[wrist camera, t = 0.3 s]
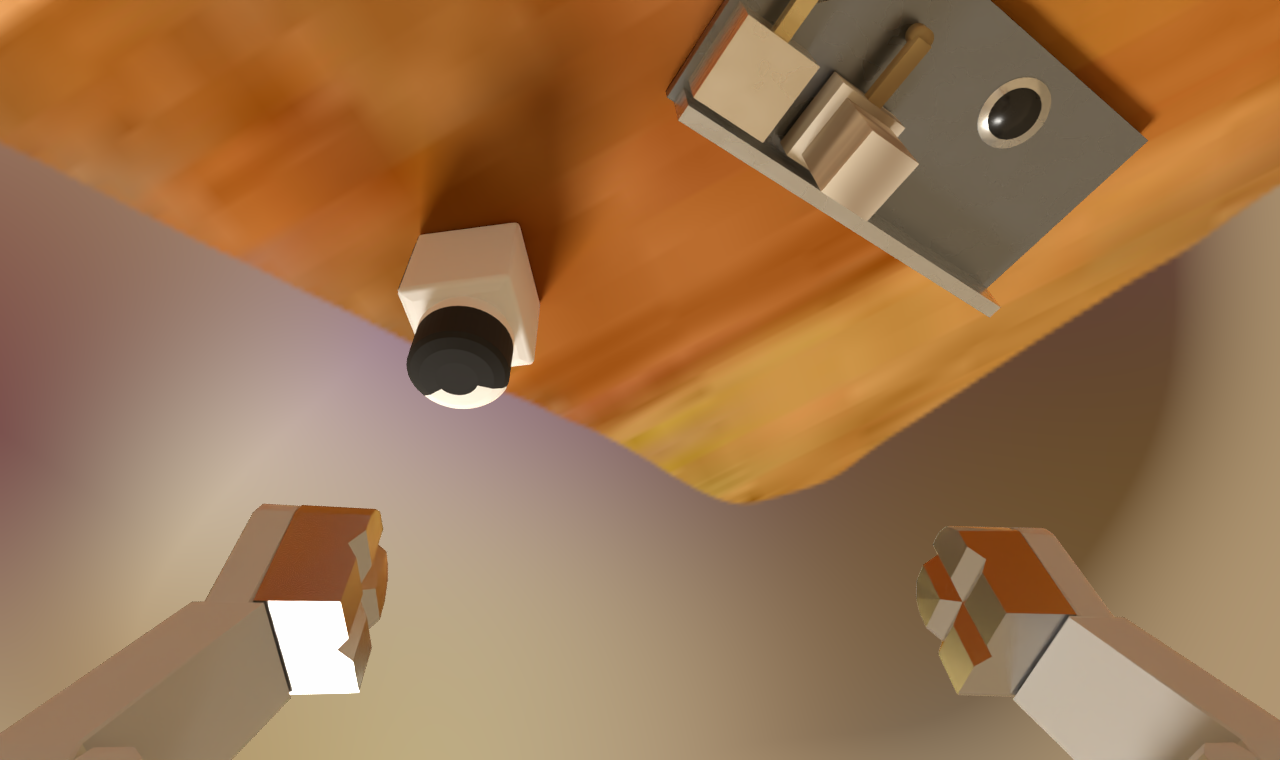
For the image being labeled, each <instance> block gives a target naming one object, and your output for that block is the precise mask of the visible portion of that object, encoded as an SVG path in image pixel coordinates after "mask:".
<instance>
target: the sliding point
mask: <svg viewBox="0 0 1280 760" xmlns="http://www.w3.org/2000/svg"><path fill="white" fill-rule="evenodd" d="M905 40H906V42H907V43H906V44H905V45H904V47H903V48H902V49H901V50H900V52H899V53H898V54H897V55H896V56H895V58H894V59H893V60H892V61H891V63H890V64H889V65H888V66H887V68H886V69H885V70H884V71H883V73H882V74H881V75H880V76H879V77H878V79H877V80H876V81H875V82H874V84H873V85H872V86H871V87H870V89H869V90H868V91H867V92H866V94H865V93H863V92H862V91H861V90H859V89H858V88H857V87H855V86H854V85H853V84H851V83H850V82H849V81H847V80H846V79H844V78H843V77H842V76H840V75H839V74H838V73H836V72H835V71H834V73H833V74H832V75H831V77H830V78H829V79H828V80H827V82H826V83H825V84H824V86H823V87H822V88H821V90H820V91H819V92H818V93H817V95H816V96H815V97H814V99H813V100H812V101H811V103H810V104H809V105H808V107H807V108H806V109H805V110H804V112H803V113H802V114H801V116H800V117H799V118H798V120H797V121H796V122H795V123H794V125H793V126H792V127H791V129H790V130H789V131H788V133H787V134H786V135H785V136H784V138H783V139H782V140H781V142H780V143H781V145H782V147H783V149H784V151H785V153H786V155H787V156H789V157H790V158H792V159H793V160H795V161H796V162H798V163H799V164H801V165H802V166H804V167H805V168H807V169H808V170H810V172H811V174H812V176H813V177H814V179H815V181H816V183H817V185H818V187H819V189H820V191H821V192H822V193H824V194H825V195H827V196H828V197H830V198H831V199H833V200H835V201H836V202H838V203H839V204H841V205H842V206H844V207H845V208H847V209H848V210H850V211H852V212H853V213H855V214H856V215H858V216H859V217H861V218H862V219H864V220H865V221H868V220H869V219H870V218H871V217H872V215H873V214H874V213H875V212H876V211H877V210H878V209H879V208H880V207H881V206H882V205H883V203H884V202H885V201H886V200H887V199H888V198H889V197H890V196H891V195H892V194H893V192H894V191H895V190H896V189H897V188H898V187H899V186H900V185H901V184H902V183H903V181H904V180H905V179H906V178H907V177H908V176H909V175H910V174H911V173H912V172H913V170H914V169H915V168H916V167H917V166H918V165H919V163H918V162H917V161H916V159H915V158H914V157H913V156H912V155H911V153H910V152H909V151H908V150H907V148H906V147H905V146H904V145H903V144H902V142H901V141H900V140H899V139H898V136H899V135H900V134H901V133H902V132H903V130H904V129H905V127H904V126H903V125H902V124H901V122H900V121H899V120H898V119H897V118H896V117H895V115H893V114H892V113H890V112H889V111H888V110H886V109H885V108H884V107H883V105H884V104H885V103H886V102H887V101H888V99H889V98H890V97H891V96H892V95H893V93H894V92H895V91H896V90H897V89H898V87H899V86H900V85H901V84H902V83H903V81H904V80H905V79H906V78H907V77H908V75H909V74H910V73H911V72H912V71H913V69H914V68H915V67H916V66H917V65H918V63H919V62H920V61H921V60H922V59H923V57H924V56H925V55H926V54H927V53H928V51H929V50H930V49H931V48H932V47H931V45H932V43H933V41H934V34H933V32H932V31H931V30H930V29H929V28H928V27H926V26H925V25H924V24H922V23H915V24H913V25H911V26H910V27H909V28H908V29H907V31H906V34H905Z"/></svg>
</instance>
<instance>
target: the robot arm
mask: <svg viewBox="0 0 1280 760" xmlns="http://www.w3.org/2000/svg"><path fill="white" fill-rule="evenodd" d="M382 531H383V525H382V519H381V514H380V511H378V510H376V509H363V508H345V507H326V506H308V505H302V506H294V505H276V504H262V505H261V506H260V507H259V508H257V509H256V510H255V511H254V512H253V513H252V515H251V517H250V519H249V521H248V523H247V524H246V526H245V528H244V530H243V532H242V534H241V536H240V538H239V539H238V541H237V543H236V545H235V546H234V548H233V550H232V552H231V554H230V556H229V558H228V559H227V561H226V563H225V565H224V567H223V568H222V570H221V572H220V574H219V576H218V578H217V579H216V581H215V583H214V585H213V587H212V589H211V590H210V592H209V594H208V596H207V598H206V600H205V601H204V602H191V603H189V604H188V605H186V606H185V607H184V608H182V609H181V610H179V611H178V612H176V613H175V614H173V615H172V616H170V617H169V618H167V619H166V620H164V621H163V622H162V623H160V624H159V625H157V626H156V627H154V628H153V629H151V630H150V631H149V632H147V633H146V634H144V635H143V636H141V637H140V638H138V639H137V640H135V641H134V642H132V643H131V644H129V645H128V646H127V647H125V648H124V649H122V650H121V651H119V652H118V653H116V654H115V655H114V656H112V657H111V658H109V659H108V660H106V661H105V662H103V663H102V664H100V665H99V666H98V667H96V668H95V669H93V670H92V671H90V672H89V673H87V674H86V675H84V676H83V677H81V678H80V679H78V680H77V681H76V682H74V683H73V684H71V685H70V686H68V687H67V688H65V689H64V690H63V691H61V692H60V693H58V694H57V695H55V696H54V697H52V698H51V699H49V700H48V701H47V702H45V703H44V704H42V705H41V706H39V707H38V708H36V709H35V710H33V711H32V712H30V713H29V714H27V715H26V716H25V717H23V718H22V719H20V720H19V721H17V722H16V723H14V724H13V725H12V726H10V727H9V728H7V729H6V730H4V731H3V732H1V733H0V760H232V759H233V758H234V757H235V756H236V755H237V754H238V753H239V752H240V751H241V750H242V749H243V747H245V745H246V744H247V743H248V742H249V741H250V740H251V739H252V738H253V737H254V736H255V735H256V734H257V733H258V732H259V731H260V730H261V729H262V728H263V727H264V726H265V725H266V724H267V722H269V720H270V719H271V718H272V717H273V716H274V715H275V714H276V713H277V712H278V711H279V710H280V709H281V708H282V707H283V706H284V705H285V704H286V703H287V702H288V701H289V700H290V699H291V696H290V694H314V693H315V694H316V693H357V692H359V690H360V686H361V683H362V679H363V676H364V673H365V669H366V666H367V662H368V659H369V655H370V652H371V648H372V647H371V640H370V634H369V629H370V628H371V627H372V626H373V625H374V624H375V623H376V622H378V621H379V620H380V617H381V613H382V609H383V606H384V602H385V596H386V589H387V582H388V562H387V553H386V551H385V550H384V549H383V548H382V547H380V546H379V545H378V544H379V540H380V538H381V535H382ZM933 545H934V548H935V550H936V552H937V554H938V555H937V556H935V557H934V558H932V559H931V560H929V561H928V562H927V563H925V564H924V565H923V567H922V569H921V572H920V574H919V577H918V579H917V590H916V599H917V604H918V608H919V613H920V615H921V617H922V619H923V622H924V624H925V626H926V628H927V629H929V630H930V631H931V632H932V633H933V634H935V635H936V636H937V637H938V638H939V639H941V640H942V642H941V646H940V649H939V653H938V655H939V657H940V659H941V661H942V663H943V665H944V667H945V669H946V672H947V674H948V676H949V678H950V680H951V682H952V684H953V686H954V689H955V691H956V693H957V694H958V695H978V696H1008V697H1010V696H1011V697H1014V699H1013V700H1014V701H1015V702H1016V703H1017V704H1018V705H1019V706H1020V707H1021V708H1022V709H1023V710H1024V711H1025V712H1026V713H1027V714H1028V715H1029V716H1030V717H1031V718H1032V719H1033V720H1034V721H1035V722H1036V723H1037V724H1038V725H1039V726H1040V727H1042V728H1043V730H1045V731H1046V732H1047V733H1048V734H1049V735H1050V736H1051V737H1052V738H1053V739H1054V740H1055V741H1056V742H1057V743H1058V744H1059V745H1060V746H1061V747H1062V748H1063V749H1064V750H1065V751H1066V752H1067V753H1068V754H1069V755H1070V756H1071V757H1072V758H1073V759H1074V760H1280V720H1279V719H1277V718H1276V717H1274V716H1273V715H1271V714H1270V713H1268V712H1267V711H1265V710H1264V709H1262V708H1261V707H1259V706H1257V705H1256V704H1255V703H1253V702H1252V701H1250V700H1248V699H1247V698H1246V697H1244V696H1243V695H1241V694H1239V693H1238V692H1236V691H1235V690H1233V689H1232V688H1230V687H1229V686H1227V685H1226V684H1224V683H1223V682H1221V681H1220V680H1218V679H1217V678H1215V677H1214V676H1212V675H1210V674H1209V673H1208V672H1206V671H1204V670H1203V669H1202V668H1200V667H1198V666H1197V665H1196V664H1194V663H1193V662H1191V661H1190V660H1188V659H1187V658H1185V657H1184V656H1182V655H1181V654H1179V653H1177V652H1176V651H1174V650H1173V649H1171V648H1170V647H1168V646H1167V645H1165V644H1164V643H1162V642H1161V641H1159V640H1158V639H1156V638H1155V637H1153V636H1152V635H1150V634H1149V633H1147V632H1146V631H1144V630H1143V629H1141V628H1140V627H1138V626H1136V625H1135V624H1134V623H1132V622H1130V621H1129V620H1128V619H1126V618H1124V617H1114V616H1113V615H1112V613H1111V612H1110V611H1109V609H1108V608H1107V606H1106V605H1105V604H1104V603H1103V601H1102V600H1101V598H1100V597H1099V596H1098V594H1097V593H1096V592H1095V590H1094V589H1093V588H1092V586H1091V585H1090V583H1089V582H1088V581H1087V579H1086V578H1085V577H1084V575H1083V574H1082V573H1081V571H1080V570H1079V568H1078V567H1077V566H1076V564H1075V563H1074V562H1073V560H1072V559H1071V558H1070V556H1069V555H1068V553H1067V552H1066V551H1065V549H1064V548H1063V547H1062V546H1061V544H1060V543H1059V541H1058V540H1057V538H1056V537H1055V536H1054V535H1053V534H1052V533H1051V532H1049V531H1048V530H1046V529H1045V528H1006V527H963V526H962V527H961V526H960V527H959V526H946V527H945V528H944V529H943V530H941V531H940V532H939V533H938V535H937V537H936V539H935V541H934V543H933Z"/></svg>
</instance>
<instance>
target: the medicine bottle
mask: <svg viewBox="0 0 1280 760" xmlns="http://www.w3.org/2000/svg"><path fill="white" fill-rule="evenodd" d="M398 295H399V297H400V299H401V302H402V304H403V307H404V309H405V312H406V314H407V317H408V319H409V322H410V324H411V326H412V329H413V331H414V334H415V336H414V339H413V342H412V345H411V348H410V352H409V355H408V358H407V371H408V375H409V377H410V379H411V381H412V383H413V384H414V386H415V387H416V388H417V389H418V390H419V391H420V392H421V393H422V394H423V395H424V396H426V397H427V398H428V399H430V400H432V401H434V402H436V403H438V404H440V405H443V406H447V407H451V408H458V409H469V408H476V407H480V406H483V405H486V404H488V403H490V402H492V401H494V400H495V399H497V398H498V397H499V396H500V395H501V394H502V393H503V392H504V391H505V389H506V387H507V385H508V382H509V377H510V370H511V367H512V366H520V365H528V364H532V363H533V361H534V356H535V347H536V338H537V328H538V319H539V310H540V302H539V298H538V294H537V291H536V287H535V283H534V279H533V275H532V271H531V267H530V263H529V259H528V255H527V251H526V248H525V244H524V240H523V236H522V232H521V228H520V226H519V224H518V223H506V224H499V225H491V226H483V227H476V228H468V229H461V230H453V231H445V232H438V233H430V234H422V235H420V236H419V237H418V239H417V242H416V244H415V247H414V249H413V252H412V255H411V257H410V260H409V262H408V265H407V268H406V270H405V273H404V275H403V278H402V281H401V283H400V286H399V288H398Z"/></svg>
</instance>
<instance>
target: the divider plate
mask: <svg viewBox="0 0 1280 760" xmlns="http://www.w3.org/2000/svg"><path fill="white" fill-rule="evenodd" d="M915 23H922V24H924V25H925V26H926V27H928V28H929V29H930V30H931V31H932V32H933V34H934V41H933V43H932V45H931V47H932V48H931V49H930V50H929V51H928V53H927V54H926V55H925V56H924V57H923V59H922V60H921V61H920V62H919V63H918V65H917V66H916V67H915V68H914V69H913V71H912V72H911V73H910V74H909V75H908V77H907V78H906V79H905V80H904V81H903V83H902V84H901V85H900V86H899V87H898V89H897V90H896V91H895V92H894V93H893V95H892V96H891V97H890V98H889V99H888V101H887V102H886V103H885V104H884V105H883V107H884V108H885V109H886V110H888V111H889V112H890V113H892V114H893V115H895V117H896V118H897V119H898V120H899V121H900V122H901V124H902V125H903V126H904V127H905V129H904V130H903V132H902V133H901V134H900V135H899V136H898V139H899V140H900V141H901V142H902V144H903V145H904V146H905V147H906V148H907V150H908V151H909V152H910V153H911V155H912V156H913V157H914V158H915V159H916V161H917V162H918V163H919V165H918V166H917V167H916V168H915V169H914V170H913V172H912V173H911V174H910V175H909V176H908V177H907V178H906V179H905V180H904V181H903V183H902V184H901V185H900V186H899V187H898V188H897V189H896V190H895V191H894V192H893V194H892V195H891V196H890V197H889V198H888V199H887V200H886V201H885V202H884V203H883V205H882V206H881V207H880V208H879V209H878V210H877V211H876V212H875V213H874V214H873V215H872V217H871V218H870V219H869V220H868V221H865V220H864V219H862V218H861V217H859V216H858V215H856V214H855V213H853V212H852V211H850V210H848V209H847V208H845V207H844V206H842V205H841V204H839V203H838V202H836V201H835V200H833V199H831V198H830V197H828V196H827V195H825V194H824V193H822V192H821V191H820V189H819V187H818V185H817V183H816V181H815V179H814V177H813V176H812V174H811V172H810V170H808V169H807V168H805V167H804V166H802V165H801V164H799V163H798V162H796V161H795V160H793V159H792V158H790V157H789V156H787V155H786V153H785V151H784V149H783V147H782V145H781V143H780V142H781V140H782V139H783V138H784V136H785V135H786V134H787V133H788V131H789V130H790V129H791V127H792V126H793V125H794V123H795V122H796V121H797V120H798V118H799V117H800V116H801V114H802V113H803V112H804V110H805V109H806V108H807V107H808V105H809V104H810V103H811V101H812V100H813V99H814V97H815V96H816V95H817V93H818V92H819V91H820V90H821V88H822V87H823V86H824V84H825V83H826V82H827V80H828V79H829V78H830V77H831V75H832V74H833V73H834V71H835V72H836V73H838V74H839V75H840V76H842V77H843V78H844V79H846V80H847V81H849V82H850V83H851V84H853V85H854V86H855V87H857V88H858V89H859V90H861V91H862V92H863V93H865V94H866V92H867V91H868V90H869V89H870V87H871V86H872V85H873V84H874V82H875V81H876V80H877V79H878V77H879V76H880V75H881V74H882V73H883V71H884V70H885V69H886V68H887V66H888V65H889V64H890V63H891V61H892V60H893V59H894V58H895V56H896V55H897V54H898V53H899V52H900V50H901V49H902V48H903V47H904V45H905V44H906V43H907V42H906V40H905V34H906V31H907V29H908V28H909V27H910V26H911V25H913V24H915ZM666 95H667V98H669V99H670V100H672V101H674V104H675V109H676V113H677V117H678V120H679V121H680V122H682V123H683V124H685V125H686V126H688V127H690V128H691V129H693V130H694V131H696V132H698V133H699V134H701V135H702V136H704V137H705V138H707V139H709V140H710V141H712V142H713V143H715V144H716V145H718V146H720V147H721V148H723V149H724V150H726V151H728V152H729V153H731V154H732V155H734V156H735V157H737V158H739V159H740V160H742V161H743V162H745V163H746V164H748V165H750V166H751V167H753V168H754V169H756V170H758V171H759V172H761V173H762V174H764V175H765V176H767V177H769V178H770V179H772V180H773V181H775V182H776V183H778V184H780V185H781V186H783V187H784V188H786V189H788V190H789V191H791V192H792V193H794V194H795V195H797V196H799V197H800V198H802V199H803V200H805V201H806V202H808V203H810V204H811V205H813V206H814V207H816V208H818V209H819V210H821V211H822V212H824V213H825V214H827V215H829V216H830V217H832V218H833V219H835V220H836V221H838V222H840V223H841V224H843V225H844V226H846V227H848V228H849V229H851V230H852V231H854V232H855V233H857V234H859V235H860V236H862V237H863V238H865V239H866V240H868V241H870V242H871V243H873V244H874V245H876V246H878V247H879V248H881V249H882V250H884V251H885V252H887V253H889V254H890V255H892V256H893V257H895V258H896V259H898V260H900V261H901V262H903V263H904V264H906V265H908V266H909V267H911V268H912V269H914V270H915V271H917V272H919V273H920V274H922V275H923V276H925V277H926V278H928V279H930V280H931V281H933V282H934V283H936V284H938V285H939V286H941V287H942V288H944V289H945V290H947V291H949V292H950V293H952V294H953V295H955V296H956V297H958V298H960V299H961V300H963V301H964V302H966V303H968V304H969V305H971V306H972V307H974V308H975V309H977V310H979V311H980V312H982V313H983V314H985V315H986V316H988V317H991V316H992V315H993V314H994V313H995V312H996V311H997V310H999V309H1000V308H1001V307H1000V306H999V304H998V303H997V302H996V300H995V299H994V298H993V296H992V295H991V294H990V292H989V291H988V290H987V287H989V286H990V285H991V284H992V283H993V282H994V281H995V280H996V279H997V278H998V277H999V276H1001V275H1002V274H1003V273H1004V272H1005V271H1006V270H1007V269H1008V268H1009V267H1010V266H1012V265H1013V264H1014V263H1015V262H1016V261H1017V260H1018V259H1019V258H1020V257H1021V256H1022V255H1024V254H1025V253H1026V252H1027V251H1028V250H1029V249H1030V248H1031V247H1032V246H1033V245H1035V244H1036V243H1037V242H1038V241H1039V240H1040V239H1041V238H1042V237H1043V236H1044V235H1045V234H1047V233H1048V232H1049V231H1050V230H1051V229H1052V228H1053V227H1054V226H1055V225H1056V224H1057V223H1059V222H1060V221H1061V220H1062V219H1063V218H1064V217H1065V216H1066V215H1067V214H1068V213H1070V212H1071V211H1072V210H1073V209H1074V208H1075V207H1076V206H1077V205H1078V204H1079V203H1080V202H1082V201H1083V200H1084V199H1085V198H1086V197H1087V196H1088V195H1089V194H1090V193H1091V192H1092V191H1094V190H1095V189H1096V188H1097V187H1098V186H1099V185H1100V184H1101V183H1102V182H1103V181H1105V180H1106V179H1107V178H1108V177H1109V176H1110V175H1111V174H1112V173H1113V172H1114V171H1115V170H1117V169H1118V168H1119V167H1120V166H1121V165H1122V164H1123V163H1124V162H1125V161H1126V160H1128V159H1129V158H1130V157H1131V156H1132V155H1133V154H1134V153H1135V152H1136V151H1137V150H1138V149H1140V148H1141V147H1142V146H1143V145H1144V144H1145V143H1146V142H1147V141H1148V140H1147V139H1146V138H1145V137H1144V136H1142V135H1141V134H1140V133H1139V132H1138V131H1137V130H1136V129H1135V128H1133V127H1132V126H1131V125H1130V124H1129V123H1128V122H1127V121H1126V120H1124V119H1123V118H1122V117H1121V116H1120V115H1119V114H1118V113H1117V112H1115V111H1114V110H1113V109H1112V108H1111V107H1110V106H1109V105H1108V104H1106V103H1105V102H1104V101H1103V100H1102V99H1101V98H1100V97H1099V96H1097V95H1096V94H1095V93H1094V92H1093V91H1092V90H1091V89H1090V88H1088V87H1087V86H1086V85H1085V84H1084V83H1083V82H1082V81H1081V80H1079V79H1078V78H1077V77H1076V76H1075V75H1074V74H1073V73H1072V72H1070V71H1069V70H1068V69H1067V68H1066V67H1065V66H1064V65H1063V64H1061V63H1060V62H1059V61H1058V60H1057V59H1056V58H1055V57H1054V56H1052V55H1051V54H1050V53H1049V52H1048V51H1047V50H1046V49H1045V48H1043V47H1042V46H1041V45H1040V44H1039V43H1038V42H1037V41H1036V40H1034V39H1033V38H1032V37H1031V36H1030V35H1029V34H1028V33H1027V32H1025V31H1024V30H1023V29H1022V28H1021V27H1020V26H1019V25H1018V24H1016V23H1015V22H1014V21H1013V20H1012V19H1011V18H1010V17H1009V16H1007V15H1006V14H1005V13H1004V12H1003V11H1002V10H1001V9H1000V8H998V7H997V6H996V5H995V4H994V3H993V2H992V1H991V0H724V1H723V3H722V4H721V6H720V7H719V9H718V11H717V12H716V14H715V15H714V17H713V18H712V20H711V22H710V23H709V25H708V26H707V28H706V29H705V31H704V33H703V34H702V36H701V37H700V39H699V40H698V42H697V43H696V45H695V47H694V48H693V50H692V51H691V53H690V54H689V56H688V58H687V59H686V61H685V62H684V64H683V65H682V67H681V69H680V70H679V72H678V73H677V75H676V76H675V78H674V80H673V81H672V83H671V84H670V86H669V87H668V89H667V90H666Z"/></svg>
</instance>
